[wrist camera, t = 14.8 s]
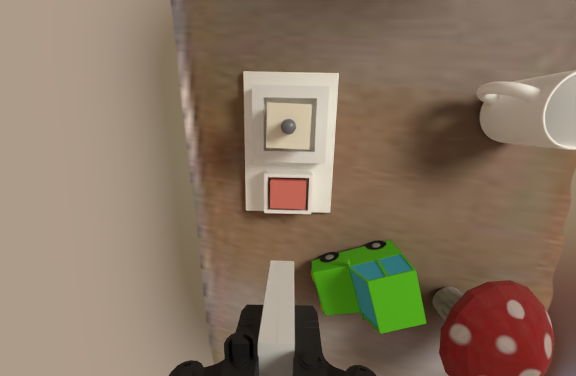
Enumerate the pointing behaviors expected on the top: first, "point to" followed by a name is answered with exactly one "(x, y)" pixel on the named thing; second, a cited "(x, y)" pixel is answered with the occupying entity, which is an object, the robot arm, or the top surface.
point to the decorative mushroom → (494, 331)
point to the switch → (288, 193)
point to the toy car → (370, 286)
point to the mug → (531, 111)
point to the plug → (288, 125)
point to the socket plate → (290, 161)
